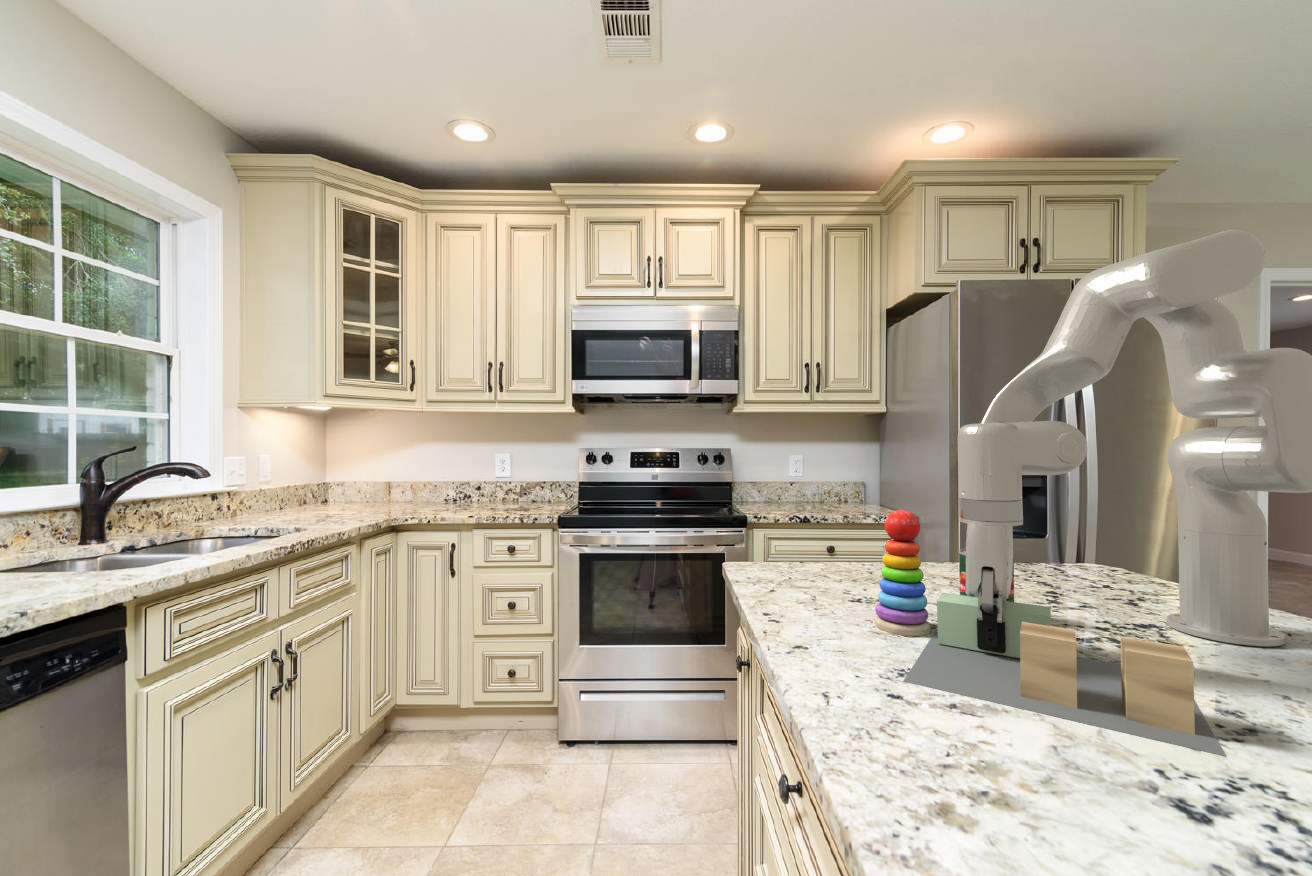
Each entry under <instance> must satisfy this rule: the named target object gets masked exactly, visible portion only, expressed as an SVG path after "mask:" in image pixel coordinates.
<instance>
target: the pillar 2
mask: <svg viewBox="0 0 1312 876" xmlns="http://www.w3.org/2000/svg"><path fill="white" fill-rule="evenodd" d="M1120 664H1121V690H1122V704H1123V708H1124V712H1125V715H1126V719H1127V720H1131V721H1135V722H1140V723H1144V724H1149V725H1153V726H1158V727H1162V728H1167V729H1171V730H1176V731H1180V732H1185V733H1189V734H1194V735H1195V720H1194V700H1195V683H1194V682H1195V681H1194V678H1195V677H1194V661H1193V659H1192V657H1191V656H1190V655H1189V653H1188V652H1187V650H1186V648H1185V647H1184V646H1181V645H1174V644H1169V643H1163V642H1155V641H1150V640H1143V639H1135V638H1130V637H1124V636H1123V637H1122V636H1120Z"/></svg>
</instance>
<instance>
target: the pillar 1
mask: <svg viewBox="0 0 1312 876" xmlns="http://www.w3.org/2000/svg"><path fill="white" fill-rule="evenodd" d="M1076 637H1077V636H1076V631H1075V629H1072V628H1066V627H1065V628H1063V627H1060V626H1053V625H1051V626H1046V625H1040V624H1033V623H1027V622H1022V624H1021V630H1020V676H1021V696H1023V697H1027V698H1032V699H1036V700H1041V701H1045V702H1050V703H1054V704H1059V705H1063V706H1068V707H1072V708H1077V662H1076V656H1077V638H1076Z"/></svg>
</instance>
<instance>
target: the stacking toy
mask: <svg viewBox="0 0 1312 876" xmlns="http://www.w3.org/2000/svg"><path fill="white" fill-rule="evenodd" d="M920 530H921V524H920V520H919V519H918V517H917V516H916V515H915V513H913V512H911V511H910V510H905V509H899V510H898V509H897V510H894V511H892V512H890V513H889V514H888V515H887V516H886V518H885V521H884V531H885V532H886V534H887V536H888V537H889V538H890V539H889V540H887V541H886V542H885V544H884V549H885V551H886V552H887V553H884V555H882V560H881V561H882V563H883V564H884V566H882V568H881V572H880V573H881V576H882V577H883V578H881V580H879V588H880V592H879V593H878V597H877V598H878V601H879V602H878V603H877V604H876V605H875V608H874V609H875V614H876V616H875V618H874V620H873V621H874V622H873V623H874V626H875V627H876V628H877V629H878V630H880V631H883V632H885V633H888V634H893V635H897V636H898V635H899V636H904V637H922V636H926V635H928V634H930V633H931V630H932V627H931V624H930V622H929V621H928V618H929V613H928V610H927V609H926V607H927V605H928V598H927V597H926V595H925V592H926V590H927V589H926V585H925V584H924V582H922V581H923V579H924V577H925V576H924V572H923V570H922V569H921V568H920V567H921V565H922V560H921V558H920V557H919V556H918V554H919V553H920V550H921V546H920V545H919V543H918V542H916V541H914V540H915V539H916V538H917V537H918V535H919V533H920V532H921V531H920Z"/></svg>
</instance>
